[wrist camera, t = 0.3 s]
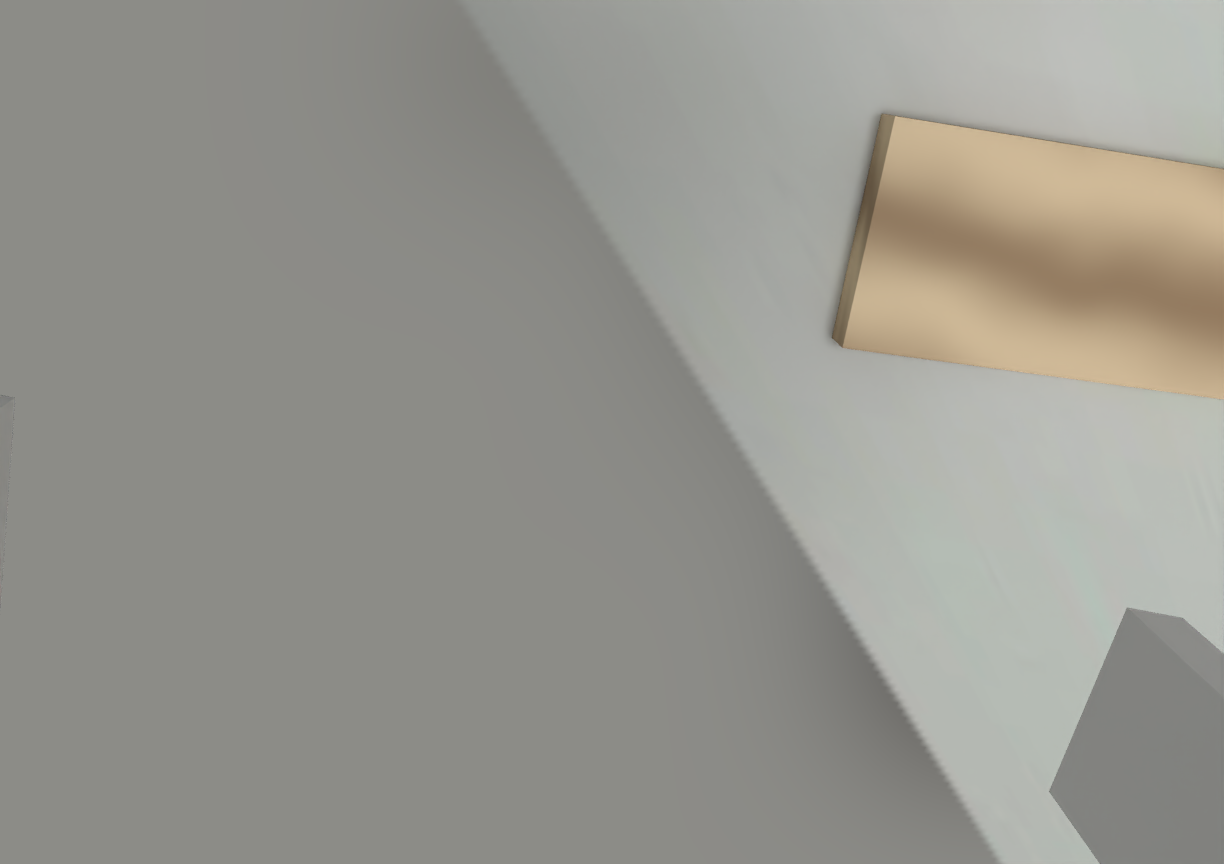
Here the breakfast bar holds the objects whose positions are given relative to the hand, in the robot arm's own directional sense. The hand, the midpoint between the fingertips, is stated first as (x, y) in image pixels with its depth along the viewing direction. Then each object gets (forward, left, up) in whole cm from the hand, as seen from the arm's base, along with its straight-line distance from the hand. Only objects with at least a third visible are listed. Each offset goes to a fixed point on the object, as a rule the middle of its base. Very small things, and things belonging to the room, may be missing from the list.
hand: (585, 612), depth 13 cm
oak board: (-2, +21, -28) cm, 35 cm away
